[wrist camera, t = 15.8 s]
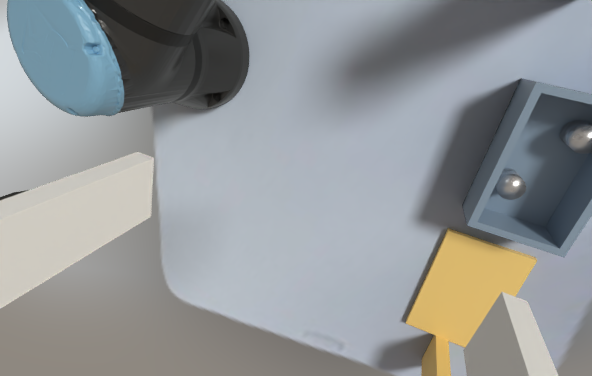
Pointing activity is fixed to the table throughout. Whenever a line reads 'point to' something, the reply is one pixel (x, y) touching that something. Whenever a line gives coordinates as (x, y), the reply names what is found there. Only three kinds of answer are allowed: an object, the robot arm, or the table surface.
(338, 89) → the table surface
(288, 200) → the table surface
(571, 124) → the part
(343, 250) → the table surface
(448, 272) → the lid
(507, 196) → the part
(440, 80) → the table surface
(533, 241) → the tub
